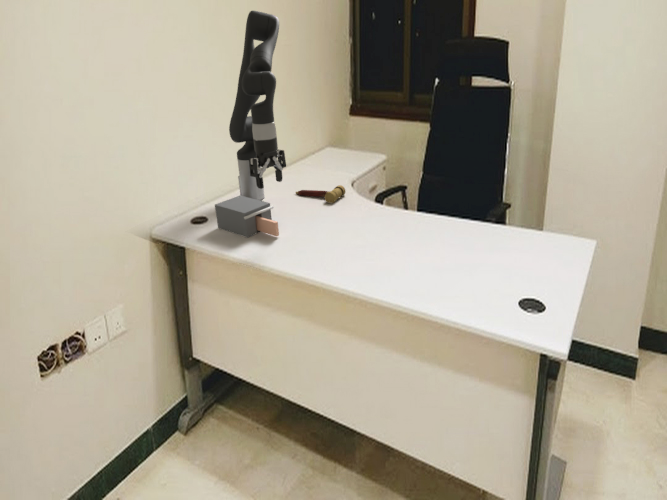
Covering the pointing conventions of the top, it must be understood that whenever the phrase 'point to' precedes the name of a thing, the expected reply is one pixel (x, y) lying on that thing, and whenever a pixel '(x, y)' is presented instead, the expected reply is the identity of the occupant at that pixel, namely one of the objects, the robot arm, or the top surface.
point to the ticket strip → (267, 226)
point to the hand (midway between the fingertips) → (270, 184)
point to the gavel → (325, 193)
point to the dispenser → (241, 215)
